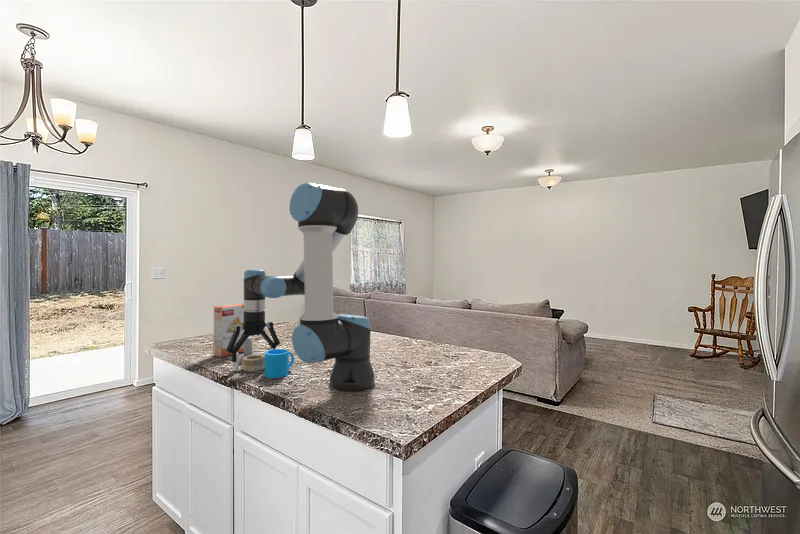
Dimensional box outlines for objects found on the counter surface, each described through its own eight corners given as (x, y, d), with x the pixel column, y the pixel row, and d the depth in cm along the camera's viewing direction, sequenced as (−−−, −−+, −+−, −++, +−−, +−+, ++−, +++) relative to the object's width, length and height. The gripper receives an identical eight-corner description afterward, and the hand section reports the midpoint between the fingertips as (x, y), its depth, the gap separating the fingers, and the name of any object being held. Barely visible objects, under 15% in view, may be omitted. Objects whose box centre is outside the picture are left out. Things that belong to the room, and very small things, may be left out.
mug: (275, 379, 128) (275, 356, 128) (259, 375, 132) (259, 352, 132) (301, 370, 138) (301, 348, 138) (285, 367, 142) (286, 345, 142)
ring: (268, 368, 140) (269, 357, 140) (247, 372, 135) (247, 361, 135) (260, 363, 146) (260, 353, 146) (239, 367, 141) (239, 356, 140)
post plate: (268, 359, 152) (268, 338, 152) (238, 364, 144) (238, 342, 144) (256, 353, 161) (256, 333, 161) (227, 358, 153) (227, 337, 153)
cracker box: (222, 357, 153) (222, 307, 153) (212, 355, 156) (212, 306, 155) (249, 350, 166) (250, 303, 165) (240, 348, 168) (240, 302, 168)
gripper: (280, 306, 151) (280, 359, 152) (216, 312, 134) (216, 371, 135) (289, 308, 145) (288, 363, 146) (223, 314, 129) (223, 376, 129)
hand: (254, 367), depth 141 cm, fingers open, 12 cm apart
